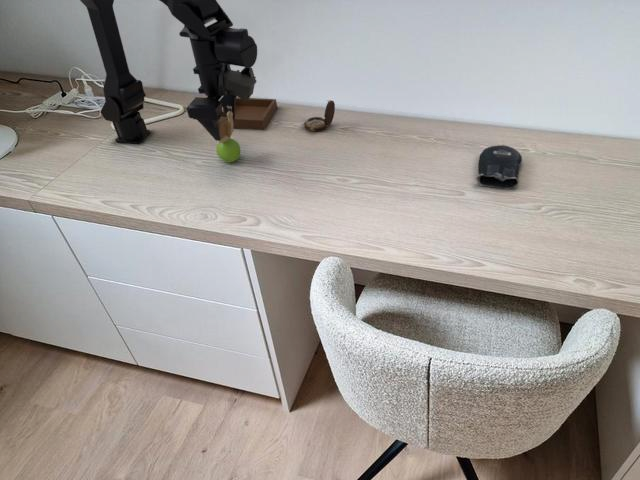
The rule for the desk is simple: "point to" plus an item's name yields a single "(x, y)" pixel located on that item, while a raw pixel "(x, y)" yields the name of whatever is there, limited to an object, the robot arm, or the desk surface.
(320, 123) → the compass
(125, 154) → the desk surface
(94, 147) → the desk surface
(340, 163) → the desk surface
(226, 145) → the green and brown figure
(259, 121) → the tray
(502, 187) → the black beanie hat
